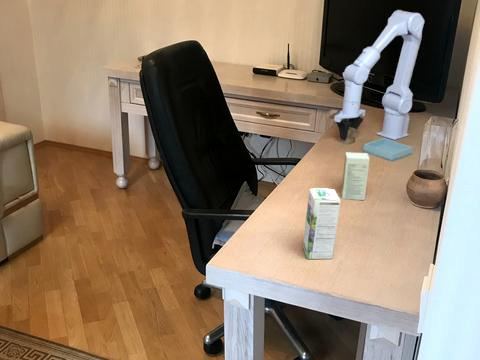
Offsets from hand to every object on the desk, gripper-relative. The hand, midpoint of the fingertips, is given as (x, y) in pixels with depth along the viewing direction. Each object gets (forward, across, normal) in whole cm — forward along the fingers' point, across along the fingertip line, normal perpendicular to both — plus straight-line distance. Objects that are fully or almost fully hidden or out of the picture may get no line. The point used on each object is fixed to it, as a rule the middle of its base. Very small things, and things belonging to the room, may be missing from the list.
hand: (347, 138), depth 186 cm
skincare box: (+2, +35, +30) cm, 46 cm away
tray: (+1, -3, +15) cm, 15 cm away
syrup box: (+2, +65, +44) cm, 79 cm away
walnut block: (+2, 0, 0) cm, 2 cm away
